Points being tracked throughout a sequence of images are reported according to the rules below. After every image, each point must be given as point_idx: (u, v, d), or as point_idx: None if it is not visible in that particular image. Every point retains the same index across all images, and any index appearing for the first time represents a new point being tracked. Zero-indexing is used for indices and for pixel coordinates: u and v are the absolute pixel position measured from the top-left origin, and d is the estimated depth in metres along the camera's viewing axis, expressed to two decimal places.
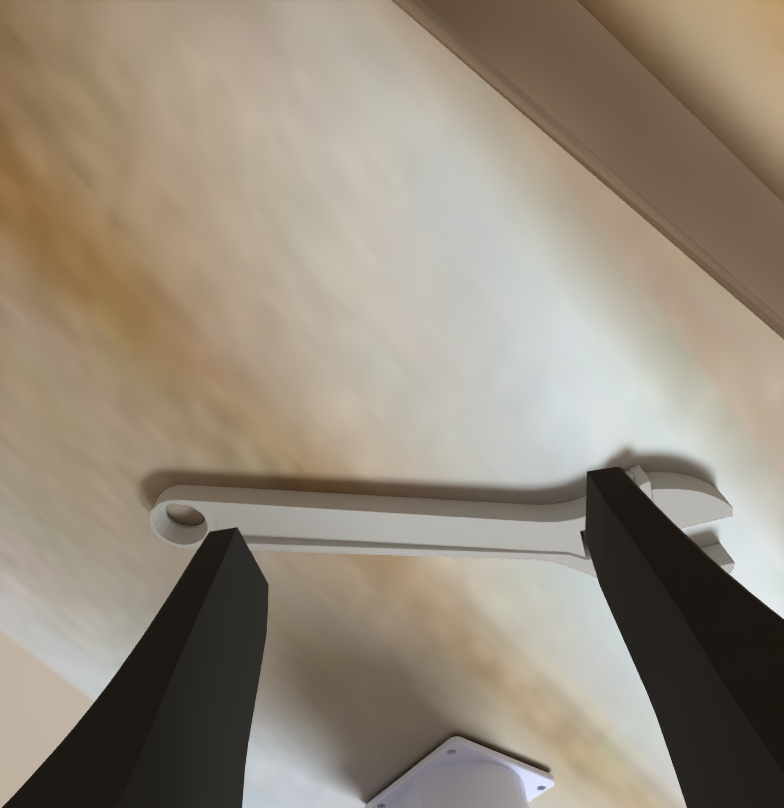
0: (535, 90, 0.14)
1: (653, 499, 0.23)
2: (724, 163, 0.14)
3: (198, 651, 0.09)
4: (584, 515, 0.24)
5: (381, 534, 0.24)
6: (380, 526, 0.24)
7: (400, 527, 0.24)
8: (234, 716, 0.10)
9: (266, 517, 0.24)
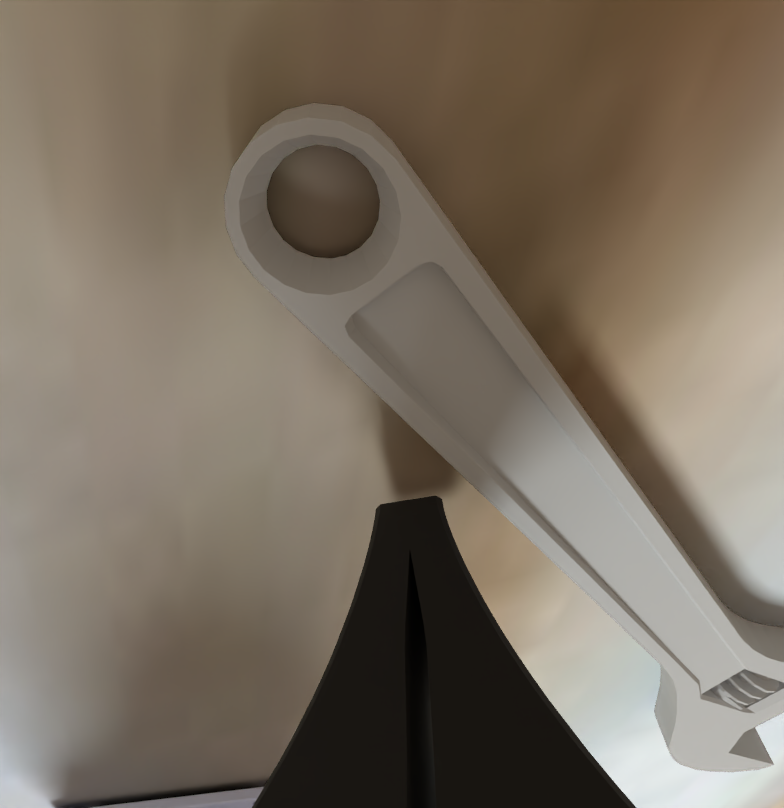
0: None
1: None
2: None
3: (410, 621, 0.09)
4: (776, 658, 0.16)
5: (580, 525, 0.12)
6: (596, 514, 0.12)
7: (615, 535, 0.12)
8: (427, 691, 0.10)
9: (477, 360, 0.10)
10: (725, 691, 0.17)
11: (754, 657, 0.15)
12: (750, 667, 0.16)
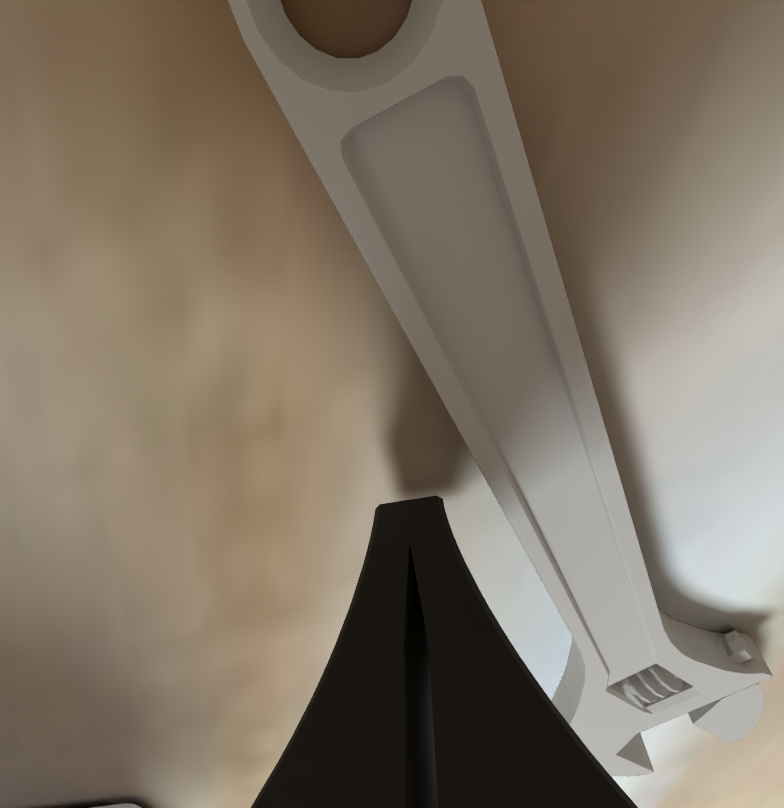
0: None
1: (739, 690, 0.16)
2: None
3: (409, 621, 0.09)
4: (688, 655, 0.15)
5: (538, 469, 0.11)
6: (558, 459, 0.11)
7: (571, 487, 0.11)
8: (427, 691, 0.10)
9: (479, 234, 0.08)
10: (631, 686, 0.16)
11: (669, 651, 0.15)
12: (662, 662, 0.15)
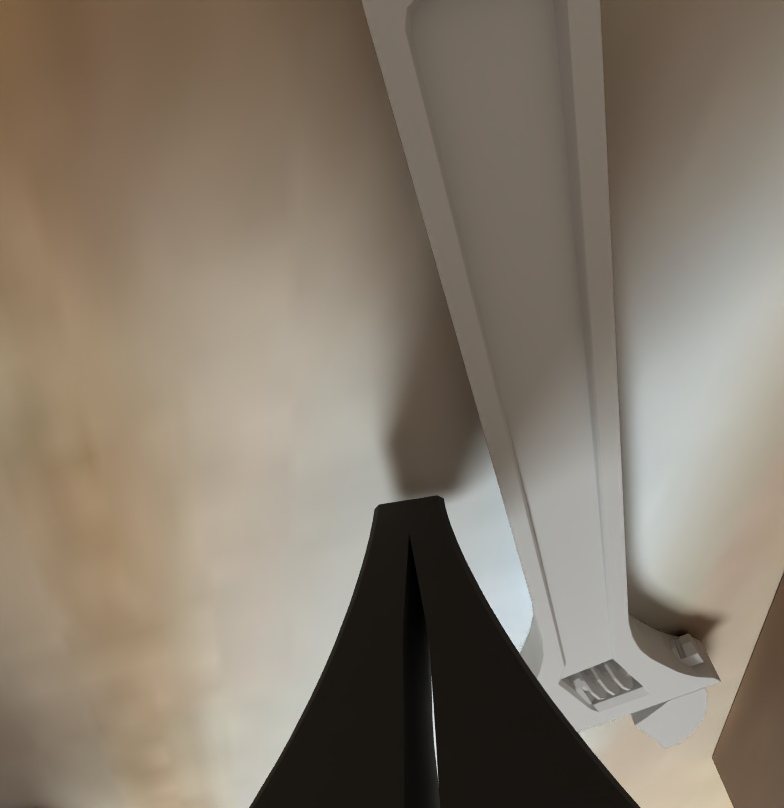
0: None
1: (686, 694, 0.16)
2: None
3: (408, 622, 0.09)
4: (646, 653, 0.15)
5: (539, 433, 0.10)
6: (561, 425, 0.10)
7: (568, 458, 0.11)
8: (426, 691, 0.10)
9: (532, 153, 0.08)
10: (583, 681, 0.16)
11: (628, 646, 0.15)
12: (619, 657, 0.15)
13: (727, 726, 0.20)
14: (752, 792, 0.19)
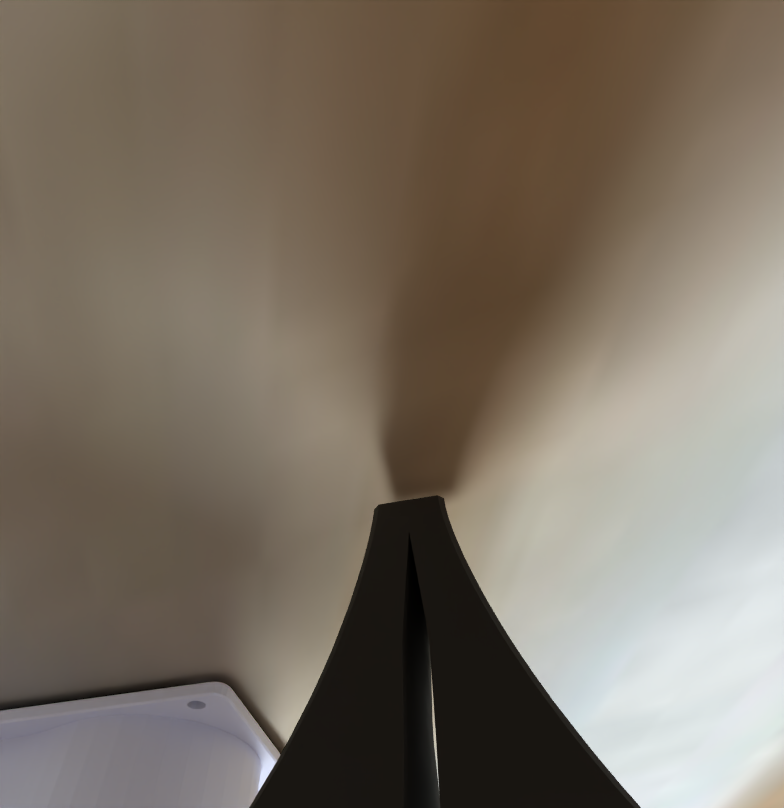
0: None
1: None
2: None
3: (408, 621, 0.09)
4: None
5: None
6: None
7: None
8: (425, 691, 0.10)
9: None
10: None
11: None
12: None
13: None
14: None
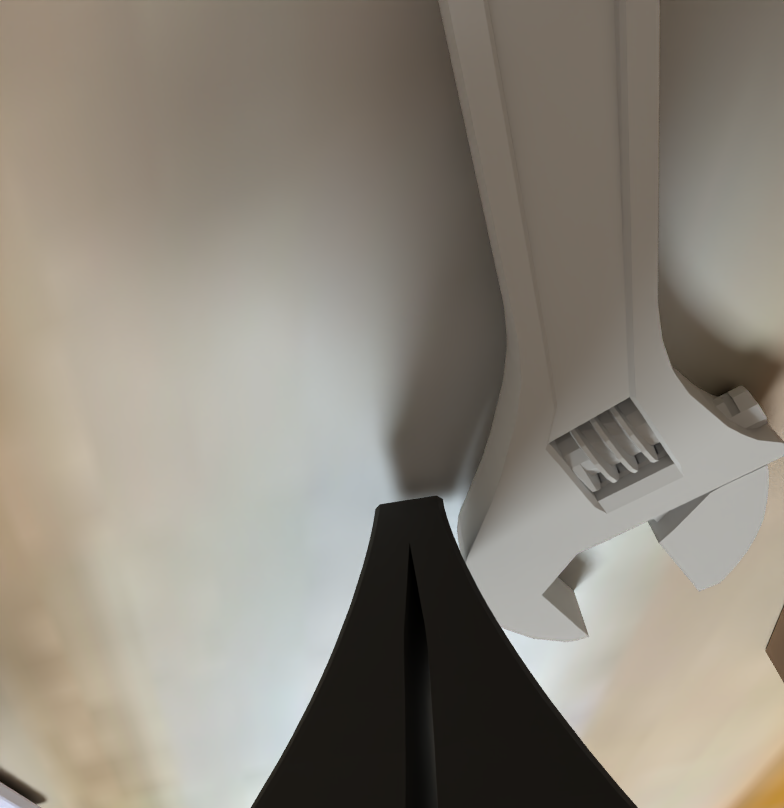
0: None
1: (738, 478, 0.11)
2: None
3: (410, 622, 0.09)
4: (682, 384, 0.10)
5: None
6: None
7: None
8: (427, 691, 0.10)
9: None
10: (584, 446, 0.10)
11: (656, 363, 0.09)
12: (641, 390, 0.10)
13: None
14: None
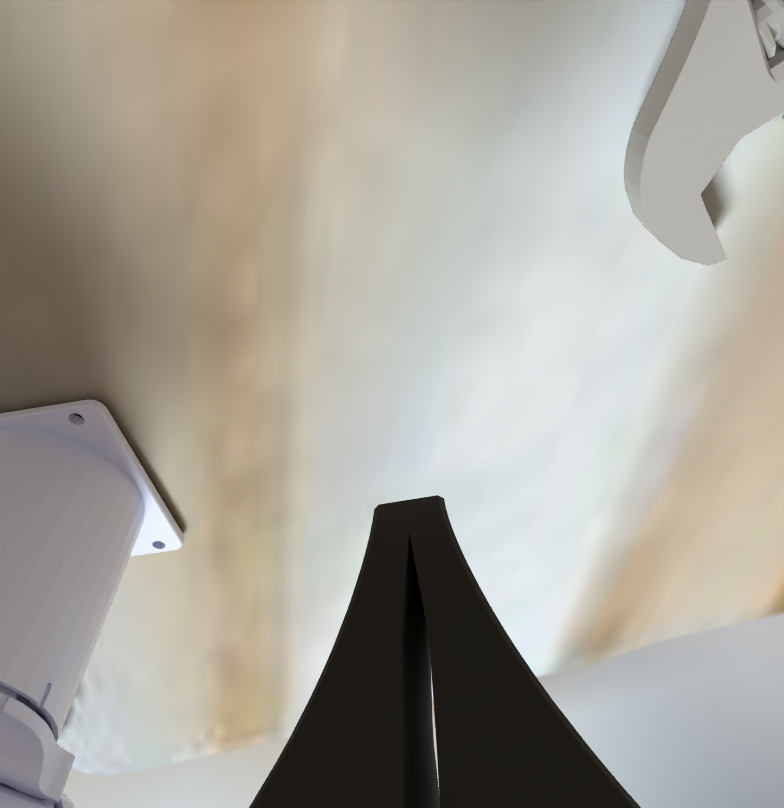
0: None
1: None
2: None
3: (408, 622, 0.09)
4: None
5: None
6: None
7: None
8: (425, 691, 0.10)
9: None
10: None
11: None
12: None
13: None
14: None
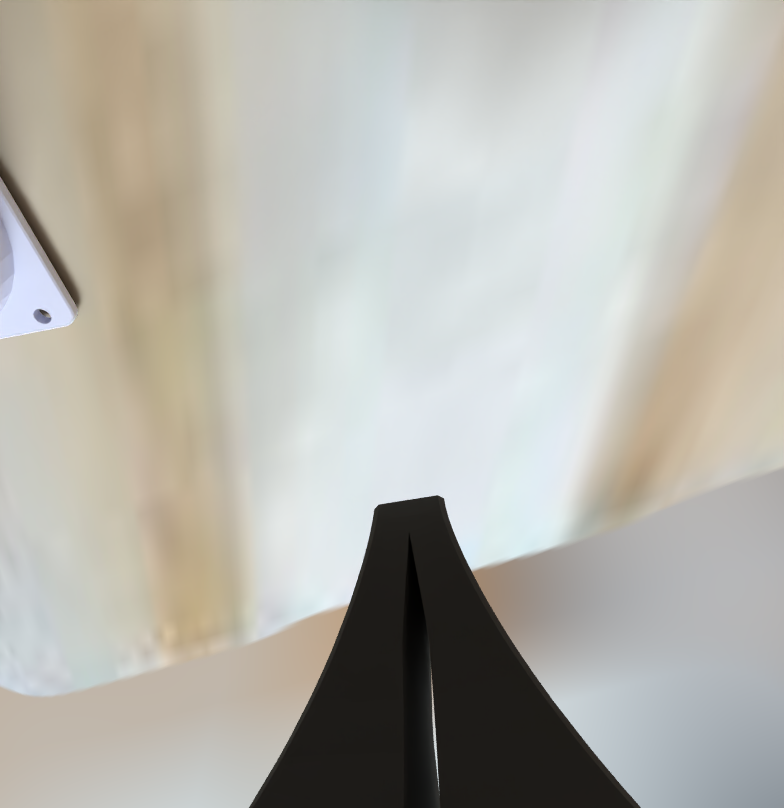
0: None
1: None
2: None
3: (408, 621, 0.09)
4: None
5: None
6: None
7: None
8: (425, 691, 0.10)
9: None
10: None
11: None
12: None
13: None
14: None
